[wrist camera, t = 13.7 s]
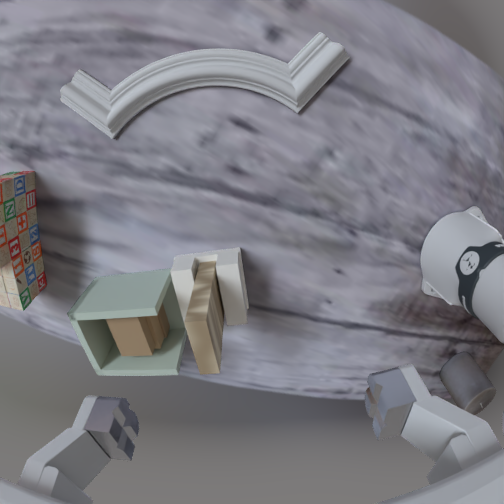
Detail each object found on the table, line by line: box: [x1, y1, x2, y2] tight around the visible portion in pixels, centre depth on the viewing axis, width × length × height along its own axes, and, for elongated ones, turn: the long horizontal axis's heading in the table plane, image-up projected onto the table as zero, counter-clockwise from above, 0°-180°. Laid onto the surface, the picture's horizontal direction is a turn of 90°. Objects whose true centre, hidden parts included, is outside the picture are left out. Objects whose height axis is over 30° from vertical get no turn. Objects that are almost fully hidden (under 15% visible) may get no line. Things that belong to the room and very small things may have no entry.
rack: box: [67, 268, 187, 376], centre depth 46 cm, size 14×12×11 cm
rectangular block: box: [184, 261, 224, 374], centre depth 41 cm, size 2×8×15 cm, turn 7°
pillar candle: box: [440, 352, 496, 415], centre depth 54 cm, size 10×10×15 cm
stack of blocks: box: [0, 171, 47, 311], centre depth 39 cm, size 21×6×12 cm, turn 174°
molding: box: [60, 32, 350, 139], centre depth 37 cm, size 42×12×3 cm, turn 95°
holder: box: [170, 247, 249, 328], centre depth 47 cm, size 10×10×6 cm
